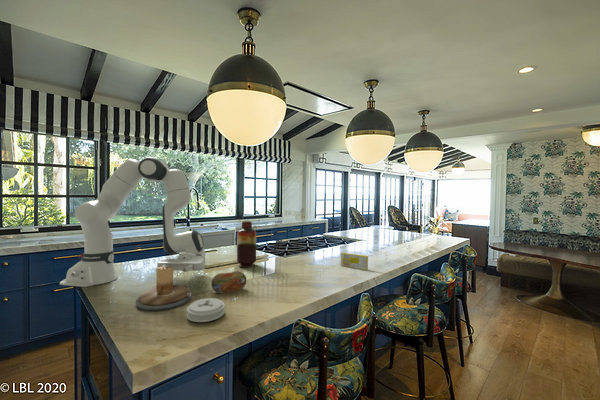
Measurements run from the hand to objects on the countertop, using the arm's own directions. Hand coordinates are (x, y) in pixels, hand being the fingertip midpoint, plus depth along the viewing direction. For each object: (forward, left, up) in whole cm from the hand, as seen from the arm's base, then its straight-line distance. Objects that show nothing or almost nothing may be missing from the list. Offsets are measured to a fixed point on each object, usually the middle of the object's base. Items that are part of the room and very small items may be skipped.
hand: (174, 269), depth 119 cm
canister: (0, -8, -7) cm, 11 cm away
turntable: (+1, -8, -8) cm, 12 cm away
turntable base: (0, -8, -10) cm, 13 cm away
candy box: (+86, +41, -10) cm, 96 cm away
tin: (+23, +3, -10) cm, 25 cm away
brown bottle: (+23, +44, -10) cm, 51 cm away
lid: (+21, -21, -10) cm, 32 cm away
